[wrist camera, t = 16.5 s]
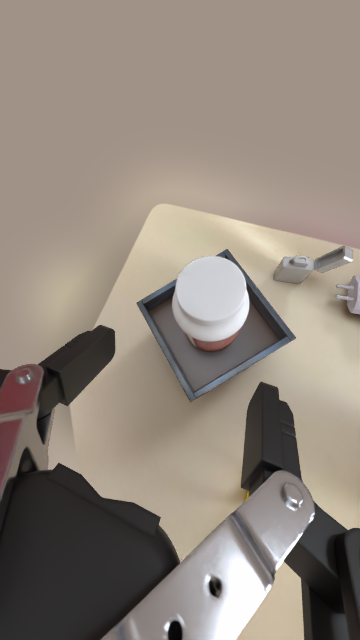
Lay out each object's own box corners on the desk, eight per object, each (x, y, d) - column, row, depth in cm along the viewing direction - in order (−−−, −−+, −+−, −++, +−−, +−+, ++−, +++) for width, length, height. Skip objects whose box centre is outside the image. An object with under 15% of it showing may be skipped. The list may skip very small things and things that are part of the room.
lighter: (273, 280, 34) (292, 252, 26) (274, 270, 34) (293, 240, 27) (321, 286, 33) (356, 258, 25) (322, 276, 33) (356, 246, 25)
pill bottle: (247, 316, 24) (277, 270, 13) (219, 363, 23) (228, 352, 12) (201, 291, 26) (195, 231, 15) (173, 333, 25) (146, 302, 14)
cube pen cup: (197, 392, 31) (190, 402, 20) (159, 325, 35) (136, 302, 24) (265, 351, 31) (296, 338, 20) (221, 288, 35) (227, 248, 24)
